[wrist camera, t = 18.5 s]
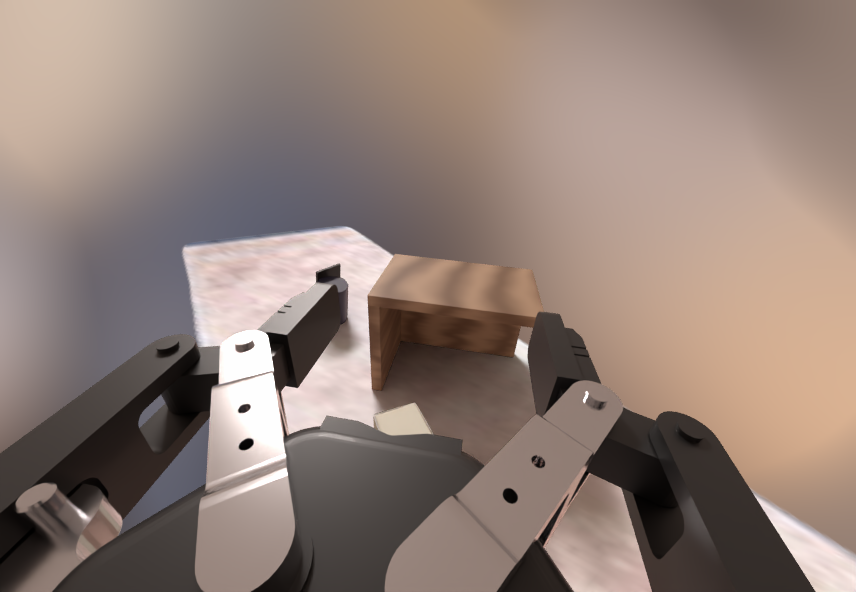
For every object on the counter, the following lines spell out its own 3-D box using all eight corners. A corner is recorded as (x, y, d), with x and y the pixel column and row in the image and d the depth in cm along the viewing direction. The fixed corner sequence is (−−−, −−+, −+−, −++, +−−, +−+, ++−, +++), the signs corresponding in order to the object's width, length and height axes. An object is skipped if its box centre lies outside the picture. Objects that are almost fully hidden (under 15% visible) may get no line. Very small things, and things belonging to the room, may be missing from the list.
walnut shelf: (512, 352, 58) (532, 269, 50) (518, 413, 46) (545, 318, 38) (394, 335, 61) (395, 254, 53) (371, 389, 49) (367, 295, 41)
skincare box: (436, 532, 32) (446, 456, 26) (395, 552, 30) (395, 477, 24) (412, 474, 37) (416, 399, 31) (375, 488, 35) (372, 412, 29)
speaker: (311, 310, 66) (308, 266, 61) (339, 304, 69) (339, 262, 64) (322, 332, 61) (320, 286, 56) (351, 325, 64) (352, 281, 59)
